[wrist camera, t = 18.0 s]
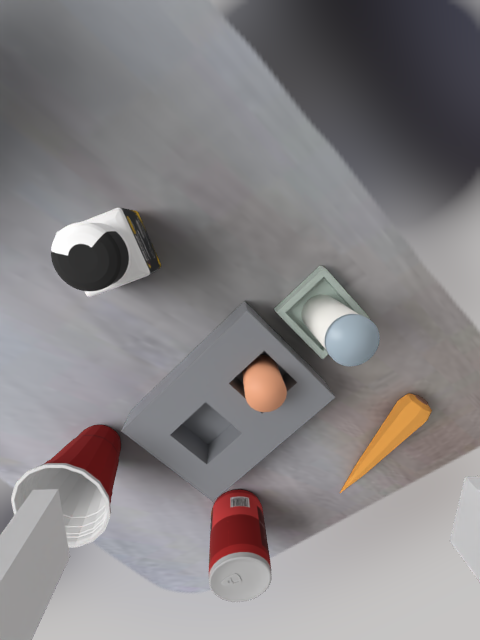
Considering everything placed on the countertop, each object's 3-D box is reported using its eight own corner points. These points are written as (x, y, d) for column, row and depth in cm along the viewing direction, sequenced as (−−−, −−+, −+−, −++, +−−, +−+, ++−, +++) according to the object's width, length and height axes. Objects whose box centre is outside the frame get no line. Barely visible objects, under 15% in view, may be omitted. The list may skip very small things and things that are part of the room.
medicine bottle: (162, 266, 40) (138, 282, 29) (109, 287, 41) (65, 310, 29) (137, 210, 39) (101, 202, 27) (82, 231, 39) (23, 233, 27)
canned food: (201, 505, 51) (195, 578, 40) (242, 478, 50) (248, 546, 39) (231, 535, 53) (233, 612, 42) (271, 509, 52) (283, 582, 41)
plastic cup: (81, 394, 45) (32, 451, 33) (151, 429, 47) (128, 496, 35) (47, 452, 47) (-11, 525, 35) (115, 483, 49) (82, 563, 37)
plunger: (234, 371, 43) (236, 394, 37) (260, 347, 42) (267, 366, 36) (259, 394, 44) (265, 419, 38) (285, 371, 43) (295, 393, 38)
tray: (273, 308, 43) (276, 312, 41) (319, 265, 41) (324, 267, 39) (318, 353, 45) (322, 359, 43) (363, 313, 43) (369, 317, 42)
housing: (131, 409, 46) (121, 431, 41) (244, 300, 42) (247, 310, 37) (213, 474, 49) (212, 501, 44) (323, 379, 46) (335, 397, 41)
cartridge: (299, 332, 43) (324, 366, 32) (301, 293, 41) (329, 315, 31) (338, 332, 43) (376, 366, 33) (341, 293, 42) (382, 315, 31)
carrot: (404, 384, 48) (409, 395, 44) (433, 402, 47) (441, 416, 43) (328, 475, 54) (325, 493, 50) (352, 493, 53) (351, 513, 49)
